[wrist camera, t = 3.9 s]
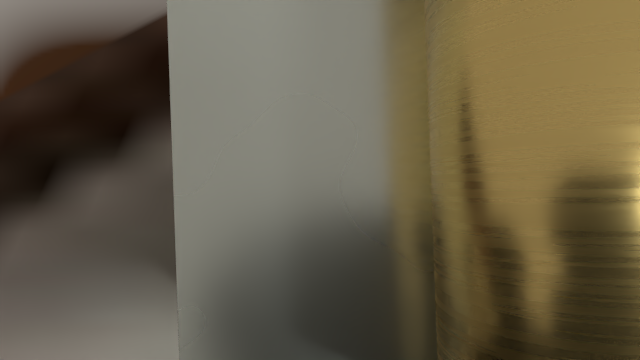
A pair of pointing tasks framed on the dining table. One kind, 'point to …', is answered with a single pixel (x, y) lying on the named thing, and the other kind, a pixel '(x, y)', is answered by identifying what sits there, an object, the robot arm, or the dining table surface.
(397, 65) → the brushed metal block
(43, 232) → the dining table surface
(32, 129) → the dining table surface
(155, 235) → the dining table surface
